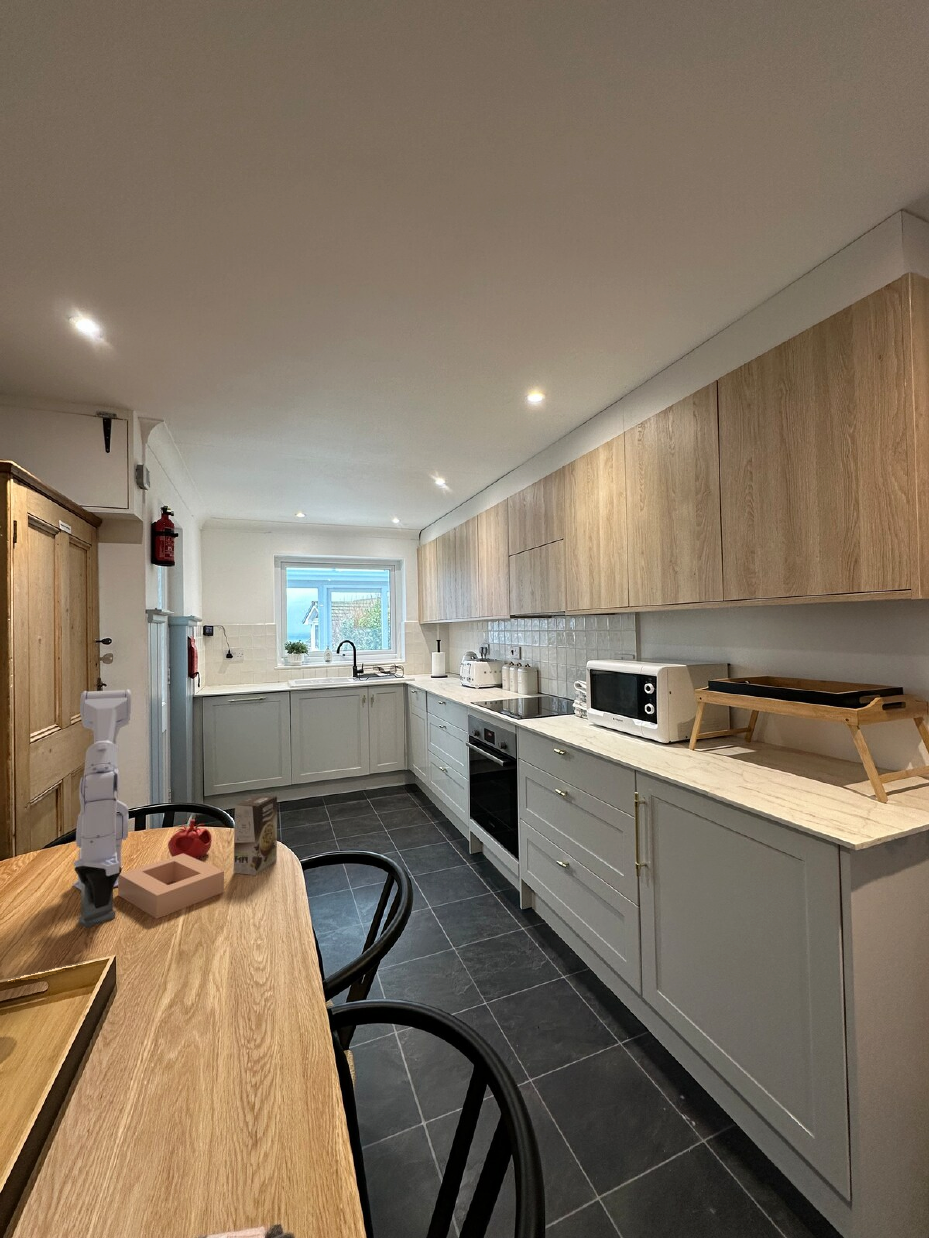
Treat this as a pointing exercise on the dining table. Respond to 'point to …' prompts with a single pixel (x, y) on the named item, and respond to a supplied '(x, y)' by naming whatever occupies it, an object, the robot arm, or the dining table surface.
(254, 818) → the coffee box
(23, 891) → the dining table surface
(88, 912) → the brushed metal prism
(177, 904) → the holder block
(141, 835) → the dining table surface
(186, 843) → the red tomato holder
